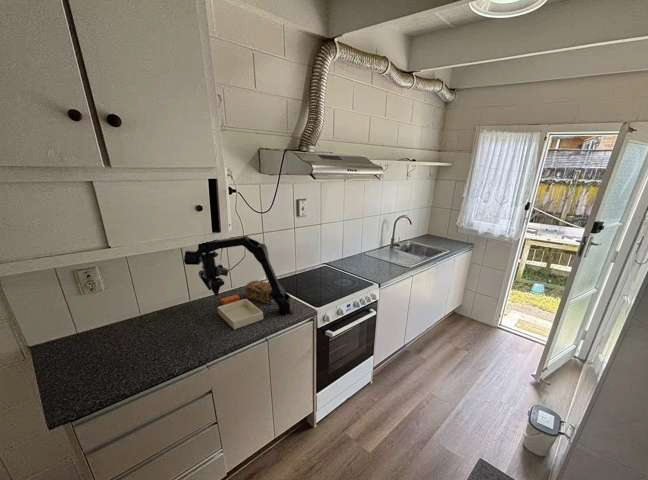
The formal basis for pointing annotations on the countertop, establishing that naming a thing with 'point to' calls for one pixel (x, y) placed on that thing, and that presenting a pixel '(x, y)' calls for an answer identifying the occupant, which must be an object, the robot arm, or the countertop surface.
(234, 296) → the snack bar
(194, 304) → the countertop surface
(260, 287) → the bread
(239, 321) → the cream rectangular tray
